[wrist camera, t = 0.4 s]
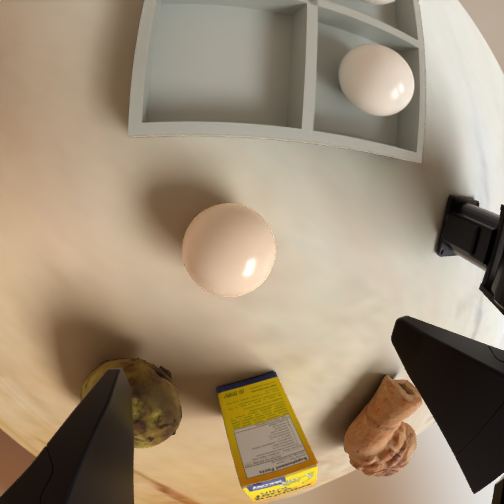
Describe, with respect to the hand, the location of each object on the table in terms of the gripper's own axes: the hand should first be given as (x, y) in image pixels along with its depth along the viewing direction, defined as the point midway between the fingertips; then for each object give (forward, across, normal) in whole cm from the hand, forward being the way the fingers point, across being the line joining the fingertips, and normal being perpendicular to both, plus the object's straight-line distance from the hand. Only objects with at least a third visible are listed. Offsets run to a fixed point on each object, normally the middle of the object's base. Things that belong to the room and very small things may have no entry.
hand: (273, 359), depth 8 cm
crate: (+12, -6, -15) cm, 20 cm away
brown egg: (+12, 0, 0) cm, 12 cm away
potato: (+12, +10, +12) cm, 20 cm away
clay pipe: (+13, -20, +31) cm, 39 cm away
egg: (+12, -10, -10) cm, 18 cm away
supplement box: (+12, -1, +17) cm, 21 cm away
